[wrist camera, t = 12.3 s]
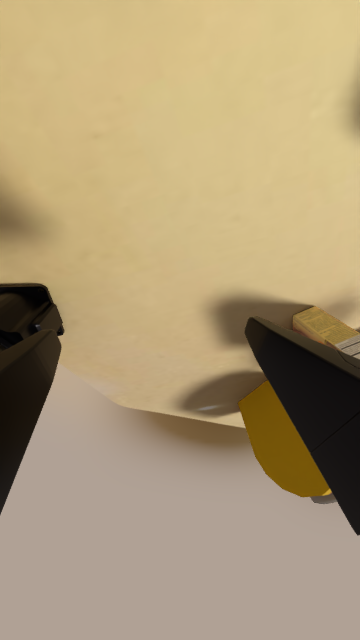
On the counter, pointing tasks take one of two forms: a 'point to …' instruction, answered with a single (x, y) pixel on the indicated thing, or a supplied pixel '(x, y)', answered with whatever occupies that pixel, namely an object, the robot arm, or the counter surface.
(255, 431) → the alarm clock
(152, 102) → the counter surface
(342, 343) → the candy box
